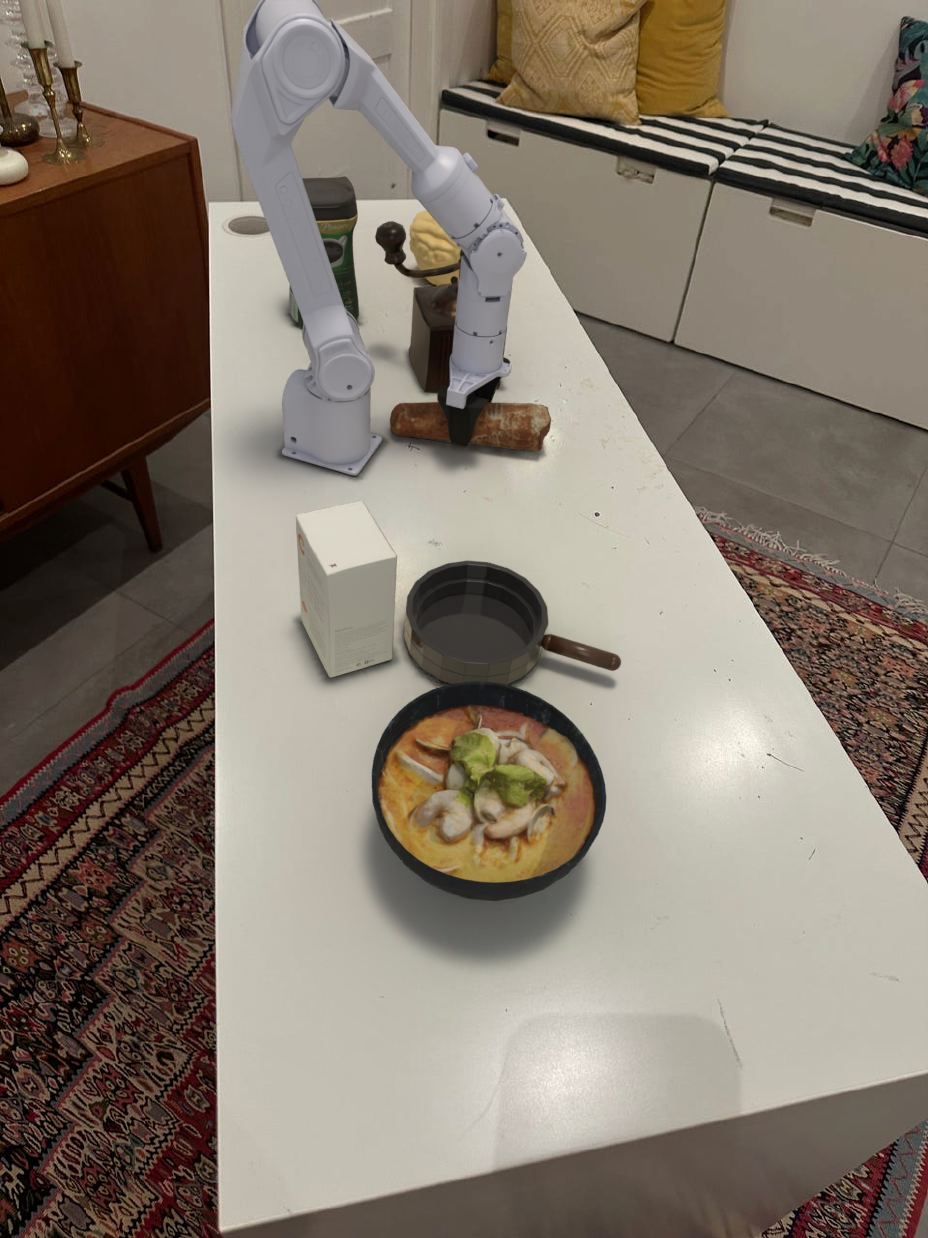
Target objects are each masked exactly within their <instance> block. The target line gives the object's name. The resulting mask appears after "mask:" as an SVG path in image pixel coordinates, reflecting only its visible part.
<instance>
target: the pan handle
mask: <svg viewBox="0 0 928 1238" xmlns="http://www.w3.org/2000/svg"><path fill="white" fill-rule="evenodd" d="M542 647H543V648H542V650H544V651H546V652H549V653H553V654H556V655H560V656H562V657H566V658H569V659H571V660H575V661H578V662H582V663H585V664H587V665H591V666H595V667H597V668H601V669H604V670H607V671H611V672H613V671H617V670H618V669H620V668H621V665H622V659H621V657H620V656H619V654H617V653H615V652H611V651H607V650H604V649H602V648H598V647H595V646H592V645H588V644H585V643H582V642H580V641H576V640H572V639H569V638H566V637H562V636H558V635H556V634H554V633H553V634H552V633H546V635H545V636H544V639H543V642H542Z"/></svg>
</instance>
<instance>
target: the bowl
mask: <svg viewBox="0 0 928 1238" xmlns="http://www.w3.org/2000/svg"><path fill="white" fill-rule="evenodd" d="M371 767H372V768H371V797H372V799H371V800H372V805H373V810H374V812H375V813H374V814H375V816H376V820H377V824H378V827H379V829H380V831H381V834H382V835H383V838H384V839H385V841H386V843H387V844H388V846H389V847H390V849H391V851H392V852H393V853H394V854H395V856H397V858H398V859H399V860H400V861H401V862H402V863H403V865H404V866H405V867H406V868H407V869H408V870H410V871H411V872H413V873H414V874H415V875H417V876H418V877H419V878H420V879H421V880H423V881H424V882H426V883H427V884H429V885H430V886H433V887H435V888H437V889H439V890H441V891H442V892H445V893H447V894H451V895H453V896H454V895H455V896H457V897H461V898H464V899H468V900H474V901H475V900H477V901H478V900H479V901H487V902H501V901H506V900H512V899H513V900H514V899H518V898H523V897H527V896H528V895H531V894H532V895H533V894H536V893H539V892H541V891H544V890H546V889H547V888H549V887H550V886H552V885H553V884H555V883H556V882H559V881H560V880H561V879H562V878H564V877H566V876H567V875H569V874H570V873H571V872H572V870H574V869H575V867H577V865H579V863H580V862H581V861H582V860H583V859H584V858H586V857H585V856H586V855H587V854H588V852H589V850H590V848H591V847H592V845H593V843H594V842H595V840H596V838H597V837H598V836H599V834H600V831H601V827H602V826H603V823H604V819H605V814H606V810H607V789H606V782H605V778H604V774H603V769H602V767H601V764H600V762H599V759H598V757H597V756H596V753H595V752H594V749H593V748H592V746H591V744H590V743H589V741H588V740H587V738H586V736H585V735H584V734H583V733H582V732H581V730H580V729H579V728H578V727H577V725H576V724H575V723H574V722H573V721H572V720H571V719H570V718H569V717H568V716H566V714H564V713H563V712H562V711H561V710H560V709H558V708H557V707H555V706H554V705H553V704H551V703H549V702H547V701H546V700H545V699H543V698H542V697H539V696H538V695H536V694H533V693H531V692H530V691H527V690H524V689H522V688H519V687H516V686H513V685H509V684H507V685H505V684H501V683H494V682H483V681H471V682H462V683H456V684H446V685H443V686H439V687H435V688H433V689H431V690H429V691H427V692H424V693H422V694H421V695H419V696H416V697H415V698H414V699H412V700H411V701H409V702H408V703H407V704H406V705H404V706H403V707H402V708H401V709H399V711H397V713H396V714H395V715H394V716H393V718H392V719H391V720H390V721H389V723H388V724H387V726H386V727H385V729H384V731H383V732H382V734H381V736H380V738H379V741H378V743H377V745H376V747H375V752H374V756H373V760H372V766H371Z"/></svg>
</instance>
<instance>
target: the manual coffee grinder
mask: <svg viewBox="0 0 928 1238" xmlns="http://www.w3.org/2000/svg"><path fill="white" fill-rule="evenodd" d="M374 238H375V242H376V244H377V245H379V247H381V248H382V250H383V251H384V252H385V253H384V255H385V257H384V263H386V264H387V265H391V266H394V268H395V269H396V270H397V271H398V273H400V274H401V275H403V276H405V277H409V278H413V279H414V278H415V279H416V278H417V279H418V278H425V277H431V276H438V275H444V274H449V273H452V272H455V271H457V270H459V278H460V269H461V258H462V256H463V255H465V254H464V252H463V250H462V249H461V250H460V259H459V260H458V263H455V264H452V265H448V266H445V267H441V268H435V269H427V270H420V269H418V270H417V269H410V268H407V267H406V265H404V264H403V263H404V262H405V261H406V259H407V254H406V253H405V250H404V249H403V248H404V244H405V242H406V240H407V232H406V228H405V227H404V225H403V224H401V223H399V222H396V221H394V220H391V221H390V220H389V221H386V222H384V223H382V224H380V225H379V226H378V227H377V228H376V232H375V236H374ZM465 256H466V255H465ZM458 284H459V281H458V278H457V277H456V276H453V277H452V278H451V283H450V284H442V285H439V286H436V285H435V286H418V287H417V286H414V287H413V291H412V292H413V294H412V310H411V311H412V312H411V331H410V341H409V342H410V343H409V348H408V352H409V357H410V363H411V365H412V367H413V370H414V373H415V376H416V378H417V381H418V382H419V384H420V385H421V387H422V389H423V390H424V391H425V392H427V393H438V390H439V389H440V388H441V386H442V385H447V386H450V366H449V363H450V356H451V354H452V350H453V339H454V327H455V317H456V306H457V295H458ZM507 331H508V327H507V328H506V334H507V333H508V332H507ZM506 340H507V335H506V336H505V342H504V350H503V357H504V355H505V349H506V348H505V347H506ZM504 358H505V357H504ZM500 386H501V380H500V381H499V383H498V386H497V388H496V389H499V388H500Z"/></svg>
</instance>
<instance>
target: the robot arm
mask: <svg viewBox="0 0 928 1238" xmlns="http://www.w3.org/2000/svg"><path fill="white" fill-rule="evenodd" d="M329 20H330V23H329V22H328V21H327V19H326V16H325V13H324V12H323V9H322V8H321V6H320V5H319V2H318V1H317V0H259V2H258V3H257V5H256V7H255V8H254V10H253V12H252V14H251V15H250V17H249V18H248V20H247V22H246V24H245V26H244V27H243V30H242V38H241V53H240V59H239V66H238V70H237V71H238V72H237V76H236V82H235V88H234V94H233V98H232V99H233V100H232V105H231V111H230V124H231V129H232V132H233V137H234V140H235V143H236V144H237V147H238V150H239V153H240V156H241V158H242V161H243V163H244V166H245V169H246V171H247V174H248V177H249V179H250V182H251V185H252V187H253V190H254V193H255V196H256V198H257V201H258V203H259V206H260V209H261V211H262V214H263V217H264V220H265V222H266V225H267V228H268V231H269V233H270V236H271V238H272V241H273V244H274V246H275V249H276V252H277V254H278V257H279V260H280V262H281V265H282V268H283V270H284V271H283V272H284V273H285V276H286V278H287V281H288V283H289V287H291V289H292V292H293V295H294V297H295V300H296V303H297V305H298V308H299V311H300V313H301V316H302V319H303V322H304V323H303V326H302V330H301V338H302V343H303V345H304V347H305V349H306V351H307V354H308V358H309V361H310V362H309V365H308V367H307V369H302V368H301V369H300V368H299V369H295V370H294V371H292V372H291V374H290V375H289V377H288V379H287V380H286V383H285V386H284V388H283V393H282V400H281V412H282V427H283V441H284V442H283V443H284V447H283V448H282V450H281V454H282V455H283V456H285V457H287V458H291V459H294V460H298V461H302V462H304V463H305V462H306V463H309V464H312V465H316V466H319V467H322V468H327V469H329V470H333V471H337V472H340V473H342V474H346V475H349V476H353V477H355V476H358V475H359V474H360V473H361V472H362V470H363V469H364V467H365V466H366V465H367V463H368V461H369V460H370V458H371V457H372V455H373V454H374V453H375V452H376V450H378V448H379V446H380V445H381V444H382V442H383V437H382V436H381V435H377V434H375V433H371V403H372V402H371V400H372V399H371V394H372V386H373V384H374V380H375V375H376V371H375V370H376V369H375V365H374V363H373V360H372V358H371V356H369V353H368V351H367V349H366V345H365V343H364V341H363V338H362V335H361V334H360V333H361V332H360V327H359V324H358V321H357V320H355V318H354V317H353V315H351V314H350V313H349V312H348V311H347V310H346V309H345V308H344V305H343V302H342V299H341V296H340V293H339V290H338V287H337V283H336V280H335V277H334V274H333V271H332V268H331V265H330V262H329V259H328V256H327V253H326V250H325V247H324V244H323V241H322V238H321V235H320V232H319V229H318V226H317V223H316V220H315V216H314V213H313V210H312V207H311V204H310V201H309V198H308V195H307V192H306V189H305V186H304V183H303V180H302V178H303V176H302V174H301V171H300V168H299V165H298V162H297V159H296V156H295V153H294V150H293V147H292V143H293V140H294V139H295V136H296V135H297V133H298V132H299V130H300V128H301V126H302V125H303V123H304V121H305V119H306V118H308V117H309V116H310V115H311V114H312V113H313V112H315V111H316V110H317V109H318V108H319V107H321V106H322V105H323V104H324V103H325V102H326V101H328V100H329V102H330V104H331V106H332V107H333V108H334V109H336V110H343V111H357V112H358V113H360V114H361V115H362V116H363V117H364V118H365V119H366V120H367V122H368V123H369V124H370V125H371V126H372V127H373V129H374V130H375V131H376V132H377V133H378V134H379V135H380V136H381V138H383V140H384V141H385V142H386V143H387V145H388V146H390V148H391V149H392V150H393V151H394V152H395V154H396V155H397V156H398V157H399V158H400V159H401V160H402V162H404V163H405V165H406V166H407V168H409V170H411V183H410V184H411V185H410V188H411V194H412V195H413V197H414V198H415V199H416V200H417V201H418V202H419V203H420V205H421V206H422V207H423V208H424V209H425V211H428V213H429V214H430V215H431V216H432V217H433V219H434V220H435V221H436V222H437V223H438V225H439V226H440V227H441V228H442V229H443V230H444V232H445V233H446V234H447V235H448V236H449V238H450V239H451V240H452V241H454V242H455V243H456V244H457V246H458V247H461V249H462V250H463V252H464V254H465V255H466V256H465V255H463V256H462V258H461V269H460V278H459V284H458V295H457V306H456V317H455V327H454V339H453V350H452V354H451V356H450V363H449V366H450V386H447V385H442V386H441V388H440V389H439V390H438V392H437V394H436V396H437V397H436V398H437V402H439V404H440V405H441V407H442V409H443V411H444V413H445V416H446V419H447V424H448V429H449V435H450V440H451V442H450V443H451V444H453V445H456V446H459V447H464V448H468V446H469V445H470V444H469V443H470V441H471V439H472V436H473V432H474V429H475V425H476V422H477V419H478V417H479V414H480V413H481V411H482V410H483V409H484V407H485V406H486V404H487V403H493V399H494V396H495V393H496V390H497V389H498V388H497V386H498V383H499V381H500V382H501V379H502V378H504V379H505V378H508V377H509V376H510V374H511V373H512V365H511V361H510V359H509V358H507V357H503V350H504V351H505V349H504V342H505V343H506V341H505V336H506V337H507V333H506V328H507V329H508V322H509V314H510V307H511V299H512V291H513V281H514V277H515V276H516V274H518V272H519V271H520V270H521V269H522V267H523V266H524V264H525V261H526V259H527V256H528V252H527V251H526V250H525V245H524V242H525V241H524V237H523V235H522V233H521V231H520V230H519V228H518V227H517V226H516V225H515V223H514V221H513V220H512V219H511V218H510V216H509V215H508V214H507V212H506V211H505V210H504V209H503V208H504V207H505V203H504V201H503V200H502V198H501V197H500V196H499V194H497V193H494V194H492V192H491V191H489V189H488V188H487V186H486V185H485V183H484V182H483V181H482V180H481V178H480V177H479V176H478V174H477V173H476V171H477V170H478V168H479V165H478V164H477V163H476V161H475V160H474V159H473V157H472V156H471V155H470V153H469V152H465V153H463V155H462V153H461V152H460V151H459V149H457V148H456V147H453V146H445V145H437V144H435V143H434V142H433V140H432V139H431V138H430V135H428V133H427V132H426V130H424V128H423V126H422V125H421V124H420V122H419V121H418V120H417V119H416V117H415V116H414V114H413V113H412V112H411V110H410V109H409V108H408V107H407V105H406V104H405V102H404V101H403V100H402V98H401V97H400V95H399V94H398V93H397V92H396V90H395V89H394V87H393V86H392V85H391V83H390V82H389V80H388V79H387V78H386V76H385V75H384V74H383V72H382V71H381V69H380V68H379V66H378V65H377V64H376V63H375V62H374V60H373V59H372V58H371V56H370V55H369V54H368V53H367V52H366V51H365V50H364V49H363V48H362V47H361V46H360V44H358V43H357V42H356V41H355V40H354V38H353V37H351V35H349V33H347V31H346V30H345V29H344V28H343V27H342V26H341V25H339V24H338V23H337V22H336V20H334V19H333V18H332V17H329Z"/></svg>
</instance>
